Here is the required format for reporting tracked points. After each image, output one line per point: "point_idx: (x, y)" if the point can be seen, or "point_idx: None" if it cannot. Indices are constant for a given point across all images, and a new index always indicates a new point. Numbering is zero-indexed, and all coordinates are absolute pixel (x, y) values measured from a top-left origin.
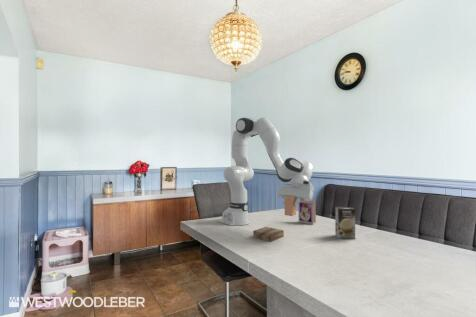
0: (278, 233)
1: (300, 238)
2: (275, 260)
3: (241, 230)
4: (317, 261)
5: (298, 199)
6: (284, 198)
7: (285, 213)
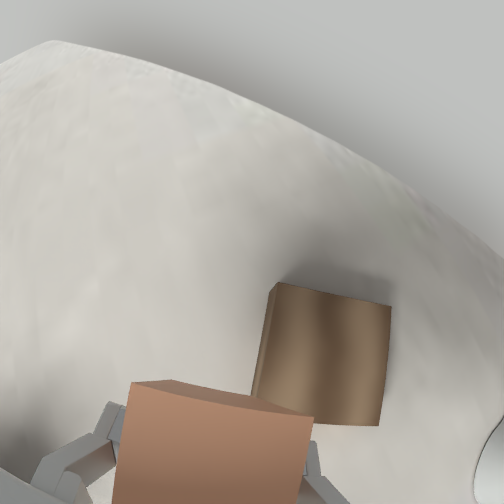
0: (263, 358)
1: None
2: (174, 117)
3: (459, 378)
4: (49, 163)
5: (54, 454)
6: (337, 497)
7: (245, 395)
